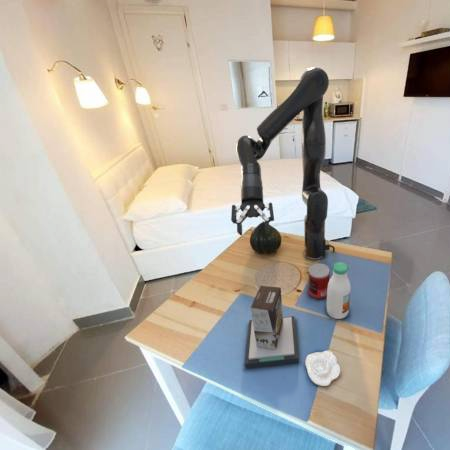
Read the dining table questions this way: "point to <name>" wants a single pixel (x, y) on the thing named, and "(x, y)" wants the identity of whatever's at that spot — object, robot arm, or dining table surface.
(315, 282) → the canned food
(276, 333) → the coffee box
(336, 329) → the dining table surface
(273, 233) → the squash
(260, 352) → the scale
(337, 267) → the milk bottle
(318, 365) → the rose
